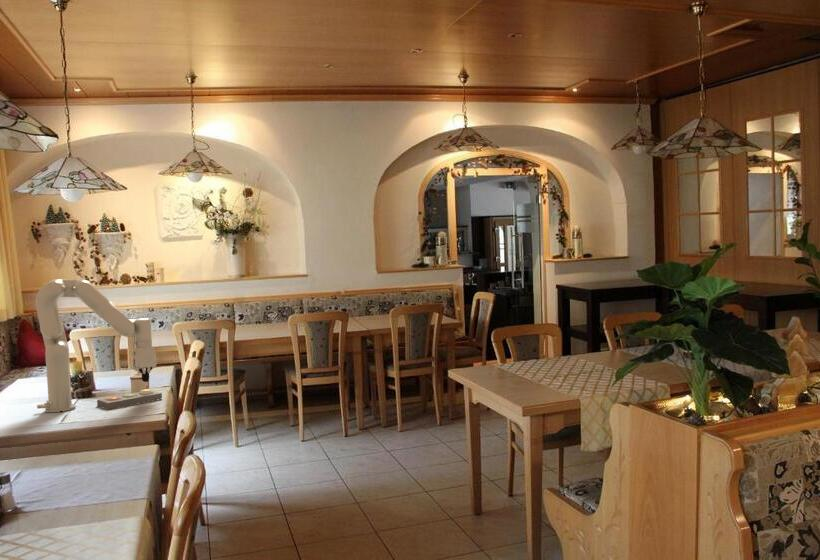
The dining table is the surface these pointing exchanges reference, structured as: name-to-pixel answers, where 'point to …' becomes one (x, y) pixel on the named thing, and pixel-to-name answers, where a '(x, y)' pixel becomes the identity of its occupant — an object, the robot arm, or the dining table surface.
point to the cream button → (145, 391)
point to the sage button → (129, 395)
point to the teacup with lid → (138, 383)
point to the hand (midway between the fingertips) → (145, 381)
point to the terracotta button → (113, 398)
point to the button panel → (128, 400)
